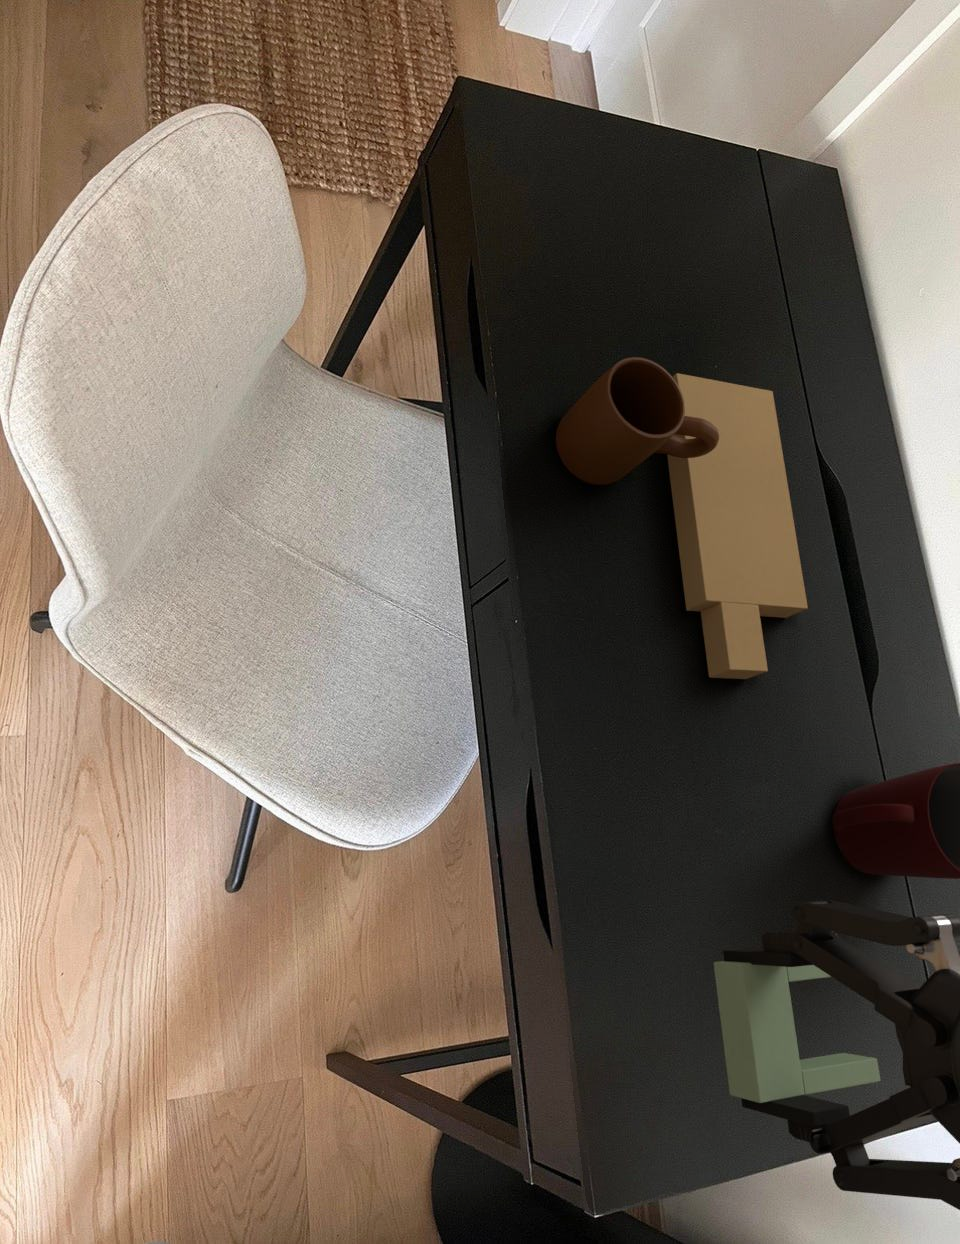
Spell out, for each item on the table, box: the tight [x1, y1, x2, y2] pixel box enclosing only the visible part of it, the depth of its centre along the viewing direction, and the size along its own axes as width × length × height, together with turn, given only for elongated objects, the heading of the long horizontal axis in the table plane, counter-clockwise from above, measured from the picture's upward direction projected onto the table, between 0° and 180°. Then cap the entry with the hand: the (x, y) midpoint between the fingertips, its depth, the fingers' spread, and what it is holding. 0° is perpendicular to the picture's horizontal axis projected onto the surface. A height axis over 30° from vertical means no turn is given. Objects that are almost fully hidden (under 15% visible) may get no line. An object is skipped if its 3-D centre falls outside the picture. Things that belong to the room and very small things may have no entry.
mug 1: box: [555, 356, 719, 486], centre depth 79 cm, size 12×8×9 cm, turn 78°
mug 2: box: [832, 762, 960, 880], centre depth 77 cm, size 12×9×11 cm
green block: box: [713, 960, 881, 1103], centre depth 61 cm, size 10×8×3 cm
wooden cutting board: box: [666, 372, 808, 680], centre depth 84 cm, size 11×28×3 cm, turn 3°
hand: (749, 1024), depth 60 cm, fingers closed on green block, 8 cm apart
